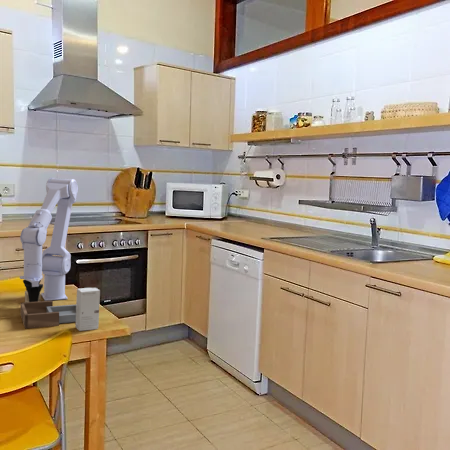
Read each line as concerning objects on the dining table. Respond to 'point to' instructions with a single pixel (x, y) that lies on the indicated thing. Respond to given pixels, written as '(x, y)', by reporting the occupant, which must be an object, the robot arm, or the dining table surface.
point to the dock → (38, 314)
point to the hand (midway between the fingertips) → (32, 302)
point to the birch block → (28, 297)
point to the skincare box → (87, 308)
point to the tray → (64, 312)
